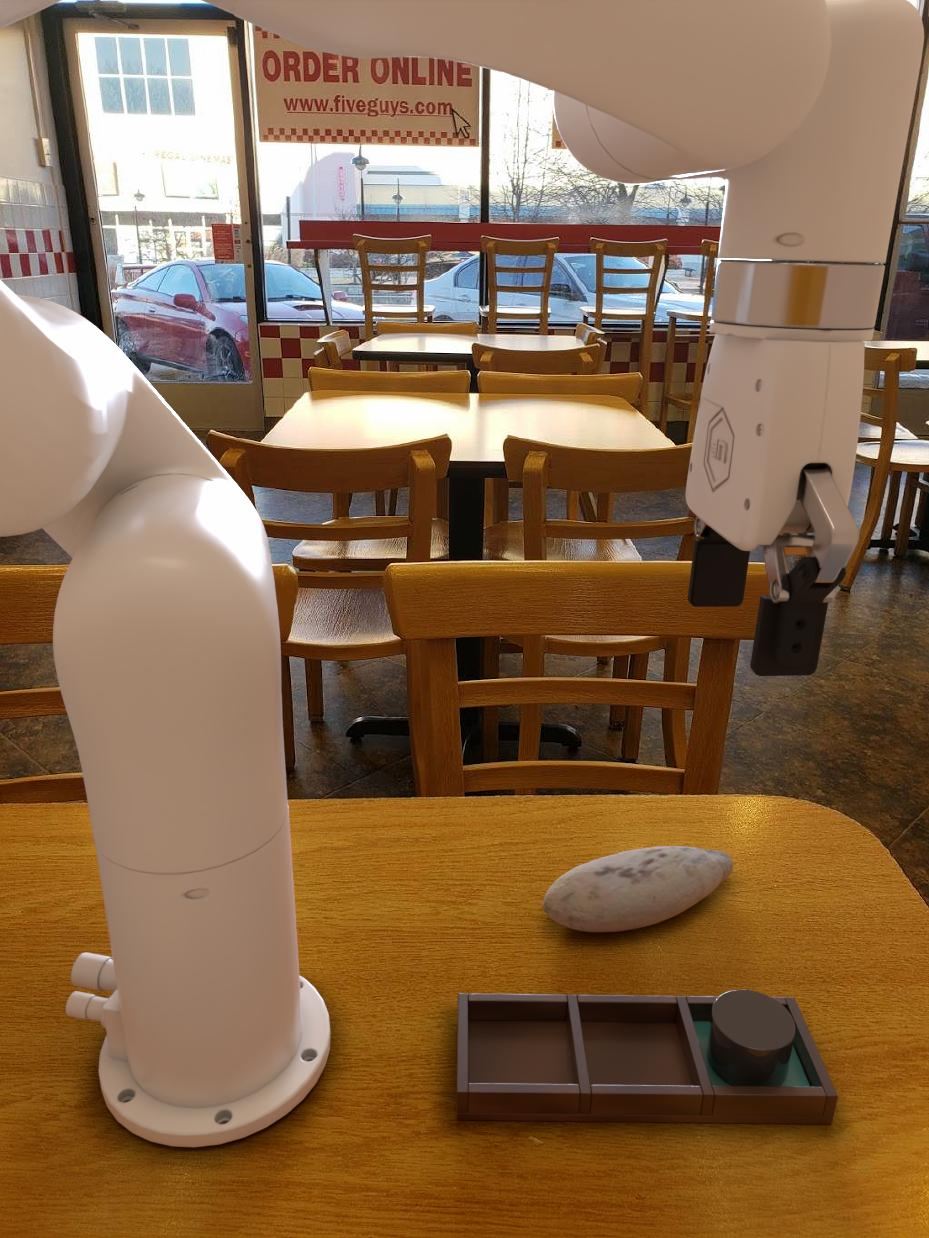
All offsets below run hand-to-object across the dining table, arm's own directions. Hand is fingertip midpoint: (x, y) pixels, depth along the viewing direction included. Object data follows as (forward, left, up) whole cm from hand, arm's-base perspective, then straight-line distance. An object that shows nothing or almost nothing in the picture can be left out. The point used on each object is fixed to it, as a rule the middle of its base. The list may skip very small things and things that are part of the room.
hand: (745, 636), depth 51 cm
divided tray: (-4, -8, -23) cm, 25 cm away
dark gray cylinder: (+2, -7, -23) cm, 24 cm away
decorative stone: (-4, +6, -24) cm, 25 cm away
